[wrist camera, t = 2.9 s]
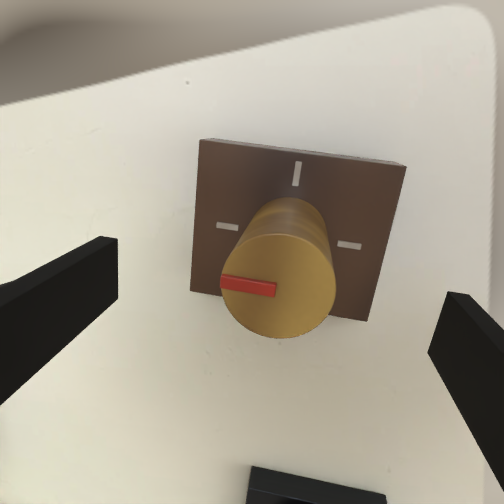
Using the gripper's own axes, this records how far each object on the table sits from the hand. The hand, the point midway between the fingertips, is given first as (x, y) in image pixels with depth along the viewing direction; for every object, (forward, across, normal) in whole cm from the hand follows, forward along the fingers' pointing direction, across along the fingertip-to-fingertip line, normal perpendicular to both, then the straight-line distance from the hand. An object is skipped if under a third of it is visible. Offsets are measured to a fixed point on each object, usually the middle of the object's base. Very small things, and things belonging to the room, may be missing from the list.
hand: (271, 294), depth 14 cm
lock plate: (+12, 0, 0) cm, 12 cm away
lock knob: (+9, 0, 0) cm, 9 cm away
